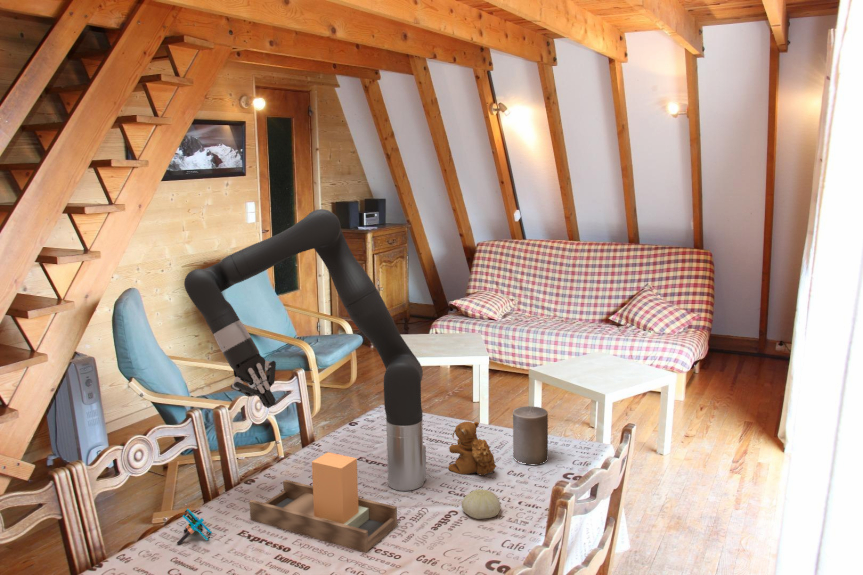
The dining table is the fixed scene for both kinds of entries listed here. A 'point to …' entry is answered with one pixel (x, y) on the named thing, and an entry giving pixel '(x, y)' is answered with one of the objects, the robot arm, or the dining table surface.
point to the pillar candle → (530, 435)
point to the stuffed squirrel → (471, 451)
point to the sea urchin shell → (481, 504)
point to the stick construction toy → (193, 526)
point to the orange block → (335, 487)
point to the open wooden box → (298, 516)
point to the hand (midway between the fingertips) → (271, 406)
